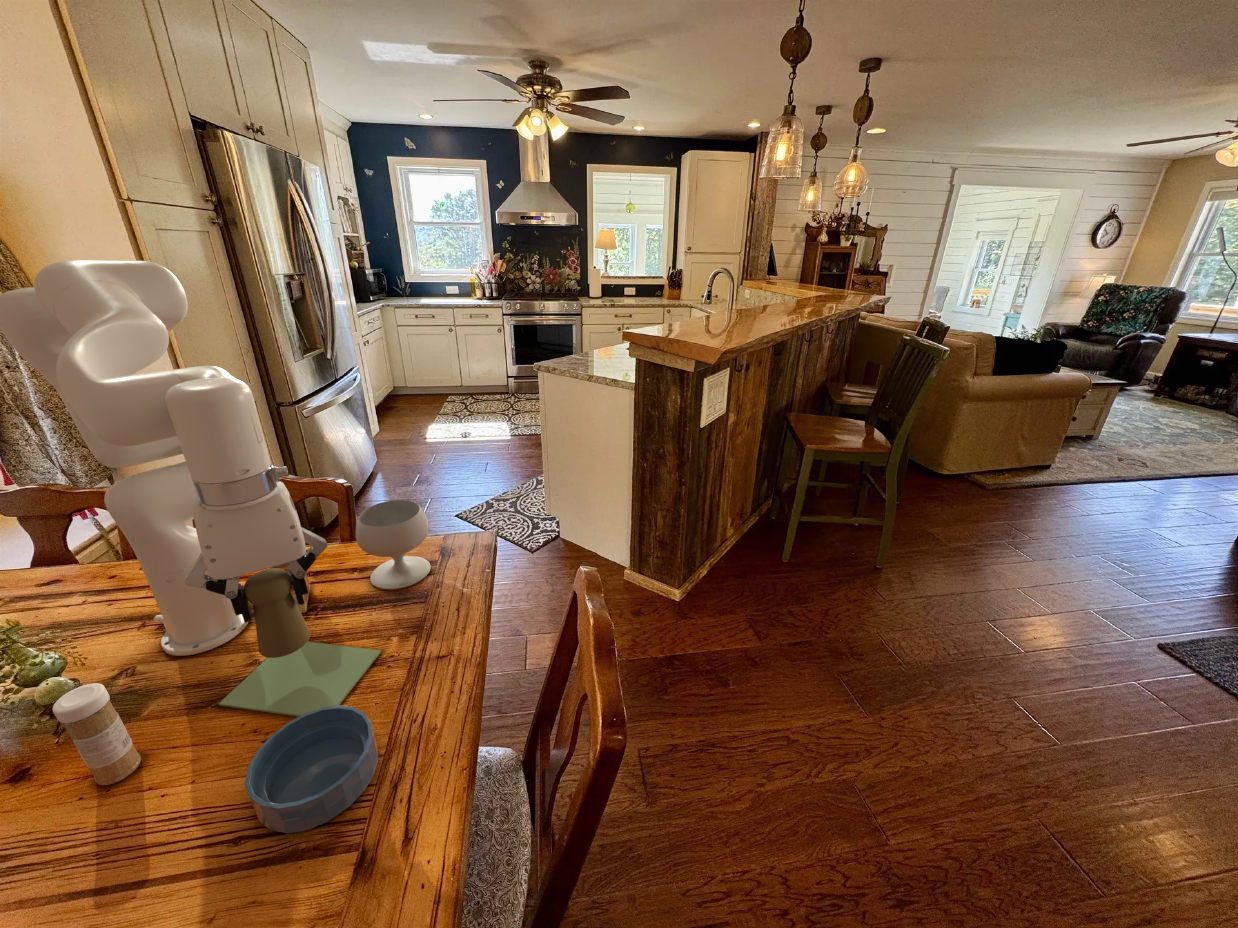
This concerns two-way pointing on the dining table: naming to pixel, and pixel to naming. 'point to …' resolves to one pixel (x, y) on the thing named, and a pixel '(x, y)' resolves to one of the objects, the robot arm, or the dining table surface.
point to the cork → (276, 613)
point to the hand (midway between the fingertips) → (274, 606)
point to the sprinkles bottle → (97, 733)
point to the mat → (302, 680)
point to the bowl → (312, 768)
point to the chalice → (394, 542)
